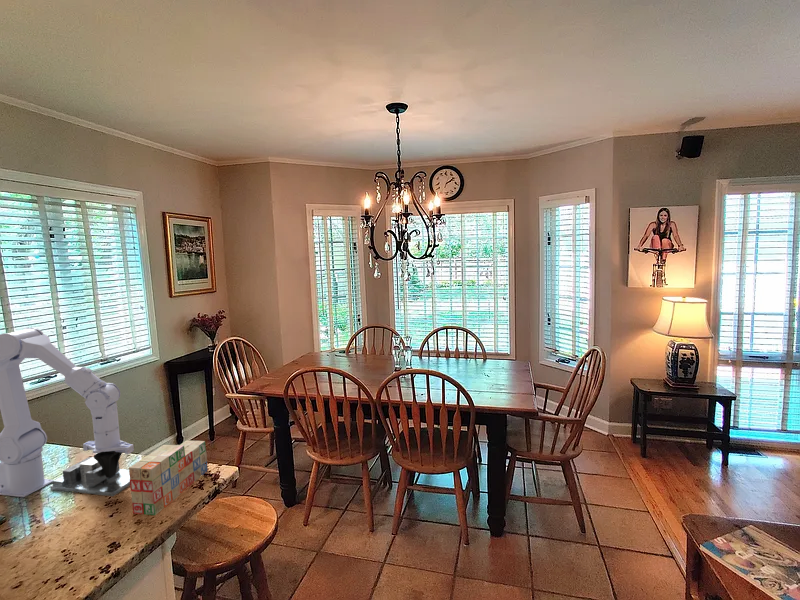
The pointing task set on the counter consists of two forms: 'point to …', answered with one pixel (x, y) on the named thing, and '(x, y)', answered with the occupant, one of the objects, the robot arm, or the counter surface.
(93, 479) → the block
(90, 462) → the aluminium block
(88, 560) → the counter surface
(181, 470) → the stack of blocks
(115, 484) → the base
